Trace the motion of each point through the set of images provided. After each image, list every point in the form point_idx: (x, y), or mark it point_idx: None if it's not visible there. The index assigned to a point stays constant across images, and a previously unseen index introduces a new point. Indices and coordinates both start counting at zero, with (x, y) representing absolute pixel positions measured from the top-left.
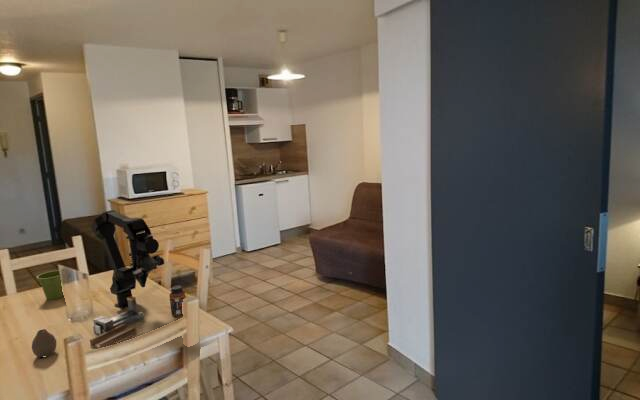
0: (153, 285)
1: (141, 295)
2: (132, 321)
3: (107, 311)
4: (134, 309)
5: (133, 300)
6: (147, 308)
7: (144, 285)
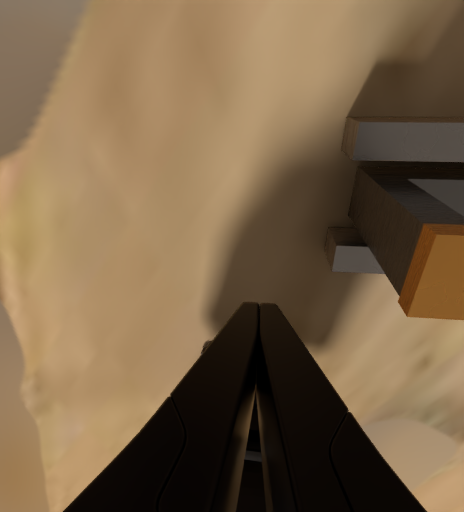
0: (44, 414)
1: (136, 386)
2: (460, 119)
3: (336, 389)
4: (406, 189)
5: (452, 224)
6: (219, 236)
7: (251, 313)
